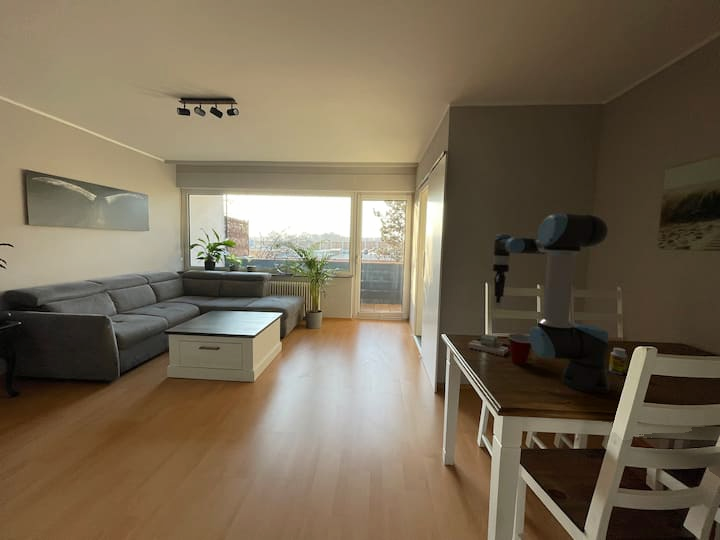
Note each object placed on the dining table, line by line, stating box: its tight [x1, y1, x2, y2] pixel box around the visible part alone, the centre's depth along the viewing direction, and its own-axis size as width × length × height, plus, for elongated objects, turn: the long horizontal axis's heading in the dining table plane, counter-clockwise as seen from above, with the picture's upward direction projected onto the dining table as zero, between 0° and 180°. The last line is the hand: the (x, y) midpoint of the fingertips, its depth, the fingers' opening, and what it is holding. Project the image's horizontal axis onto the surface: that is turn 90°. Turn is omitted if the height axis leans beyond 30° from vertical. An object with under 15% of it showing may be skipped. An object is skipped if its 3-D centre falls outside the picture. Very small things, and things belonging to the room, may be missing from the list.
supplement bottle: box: [608, 347, 628, 375], centre depth 138 cm, size 6×6×10 cm
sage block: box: [481, 333, 498, 347], centre depth 163 cm, size 7×6×4 cm
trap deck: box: [468, 334, 511, 357], centre depth 167 cm, size 20×17×2 cm
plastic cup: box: [507, 333, 532, 366], centre depth 146 cm, size 11×11×12 cm
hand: (498, 308), depth 170 cm, fingers closed
